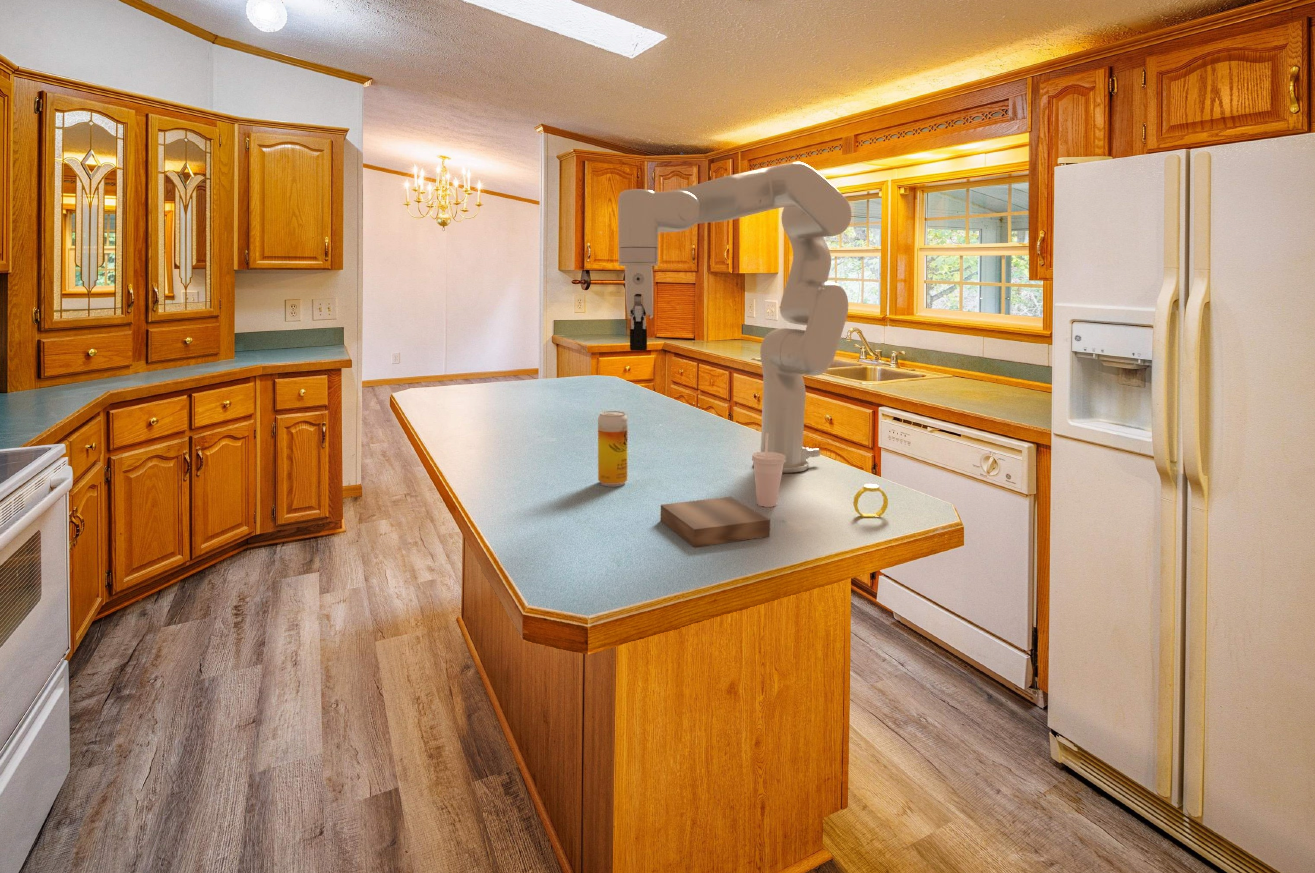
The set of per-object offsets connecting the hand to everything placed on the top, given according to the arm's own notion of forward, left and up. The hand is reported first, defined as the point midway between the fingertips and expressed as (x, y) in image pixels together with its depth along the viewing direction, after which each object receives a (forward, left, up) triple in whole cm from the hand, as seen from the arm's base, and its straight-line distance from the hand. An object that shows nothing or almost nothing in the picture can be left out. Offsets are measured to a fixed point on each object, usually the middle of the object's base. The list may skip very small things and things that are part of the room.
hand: (638, 348), depth 142 cm
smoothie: (-20, +18, -29) cm, 39 cm away
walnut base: (-4, +27, -29) cm, 39 cm away
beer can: (+3, -6, -29) cm, 30 cm away
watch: (-34, +31, -29) cm, 54 cm away
